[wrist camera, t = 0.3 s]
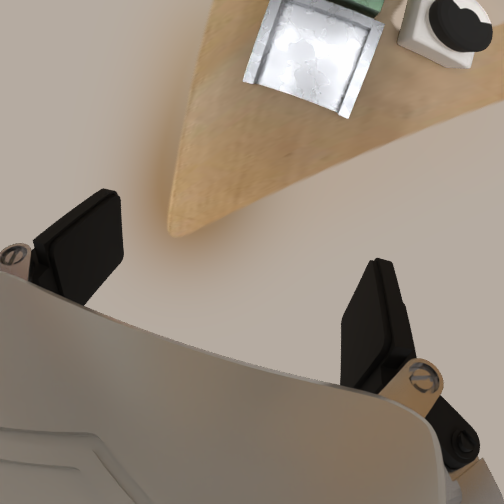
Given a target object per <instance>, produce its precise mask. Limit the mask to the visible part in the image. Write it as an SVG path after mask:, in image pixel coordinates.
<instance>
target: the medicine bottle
mask: <svg viewBox="0 0 504 504" xmlns="http://www.w3.org/2000/svg"><path fill="white" fill-rule="evenodd" d="M492 34H493V31H492V25H491V21H490V19H489V17H488V15H487V13H486V11H485V10H484V9H483V7H482V6H481V5H480V4H479V3H478V2H477V1H475V0H408V1H407V5H406V10H405V14H404V18H403V22H402V26H401V29H400V33H399V37H398V41H397V44H398V45H400V46H402V47H404V48H406V49H409V50H411V51H413V52H415V53H417V54H420V55H422V56H424V57H426V58H428V59H430V60H432V61H434V62H436V63H438V64H440V65H442V66H444V67H445V68H467V69H469V68H470V67H471V64H472V60H473V56H474V52H479V51H482V50H484V49H486V48H487V47H488V46H489V44H490V43H491V40H492Z"/></svg>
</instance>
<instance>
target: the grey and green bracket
mask: <svg viewBox="0 0 504 504" xmlns="http://www.w3.org/2000/svg"><path fill="white" fill-rule="evenodd" d="M383 2H384V0H270V2H269V5H268V7H267V10H266V13H265V16H264V18H263V21H262V24H261V27H260V30H259V33H258V36H257V39H256V41H255V44H254V47H253V50H252V53H251V56H250V59H249V63H248V66H247V69H246V72H245V75H244V78H243V82H247V83H250V84H260V85H263V86H266V87H270V88H273V89H276V90H279V91H282V92H285V93H288V94H291V95H293V96H296V97H299V98H302V99H305V100H307V101H310V102H313V103H315V104H318V105H320V106H323V107H326V108H328V109H331V110H333V111H335V112H337V113H338V115H340V116H343V117H345V118H347V119H348V118H349V115H350V113H351V111H352V108H353V106H354V103H355V101H356V98H357V96H358V93H359V91H360V88H361V86H362V83H363V81H364V78H365V75H366V73H367V70H368V68H369V65H370V63H371V60H372V57H373V55H374V52H375V49H376V47H377V44H378V42H379V39H380V36H381V33H382V31H383V28H384V25H385V24H383V23H381V22H379V21H377V20H374V18H375V17H376V16H377V15H378V14H379V12H380V11H381V8H382V5H383Z"/></svg>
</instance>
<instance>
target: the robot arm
mask: <svg viewBox="0 0 504 504" xmlns="http://www.w3.org/2000/svg"><path fill="white" fill-rule="evenodd" d="M121 221H122V220H121V200H120V197H119V196H118V194H117V192H116V191H112V190H108V189H101V190H99V191H98V192H96V193H95V194H93V195H92V196H90V197H89V198H88V199H86V200H85V201H84V202H82V203H81V204H79V205H78V206H77V207H75V208H74V209H72V210H71V211H70V212H68V213H67V214H66V215H64V216H63V217H62V218H60V219H59V220H58V221H56V222H55V223H54V224H53V225H51V226H50V227H49V228H47V229H46V230H45V231H44V232H43V233H41V234H40V235H39V236H37V237H36V238H35V239H34V240H33V243H34V247H35V248H34V249H33V250H32V251H31V248H30V247H29V245H27V244H23V243H16V244H13V245H10V246H8V247H6V248H4V249H3V250H2V251H1V252H0V504H504V500H503V497H502V494H501V492H500V490H499V488H498V486H497V484H496V482H495V480H494V478H493V476H492V474H491V472H490V470H489V468H488V466H487V464H486V462H485V461H484V459H483V458H481V459H480V460H479V458H478V453H479V450H480V442H479V438H478V435H477V433H476V432H475V430H474V429H473V428H472V427H471V426H470V425H469V424H468V423H467V422H466V421H465V420H464V419H463V418H462V417H461V415H460V414H459V413H458V412H457V411H456V410H455V409H454V408H453V407H451V405H450V404H449V403H448V402H447V401H446V400H445V399H444V398H443V397H442V396H441V395H440V394H441V392H442V390H443V378H442V375H441V373H440V372H439V370H438V369H437V368H436V367H435V366H434V365H433V364H432V363H430V362H429V361H427V360H424V359H420V358H416V352H415V347H414V342H413V337H412V333H411V328H410V324H409V319H408V315H407V310H406V306H405V304H404V303H403V301H402V297H401V293H400V289H399V285H398V281H397V278H396V274H395V270H394V267H393V263H392V262H391V261H387V260H384V259H380V258H376V259H375V260H374V261H372V260H370V261H369V263H368V265H367V267H366V269H365V271H364V274H363V276H362V278H361V280H360V282H359V284H358V286H357V288H356V290H355V292H354V295H353V296H352V299H351V301H350V303H349V305H348V307H347V309H346V311H345V313H344V315H343V317H342V321H341V378H340V385H337V384H332V383H327V382H323V381H318V380H313V379H310V378H306V377H301V376H297V375H293V374H289V373H285V372H280V371H277V370H273V369H268V368H265V367H261V366H257V365H253V364H250V363H246V362H243V361H239V360H236V359H232V358H229V357H225V356H222V355H219V354H215V353H212V352H209V351H206V350H202V349H199V348H196V347H193V346H189V345H186V344H184V343H181V342H178V341H174V340H172V339H169V338H166V337H163V336H160V335H157V334H154V333H152V332H149V331H146V330H143V329H141V328H138V327H135V326H133V325H130V324H127V323H125V322H122V321H120V320H117V319H114V318H112V317H109V316H107V315H104V314H102V313H100V312H97V311H94V310H92V309H90V308H87V307H85V306H84V305H85V304H86V303H87V301H88V300H89V299H90V298H91V297H92V295H93V294H94V293H95V292H96V291H97V289H98V288H99V287H100V286H101V285H102V283H103V282H104V281H105V280H106V279H107V277H108V276H109V275H110V274H111V273H112V272H113V271H114V270H115V269H116V267H117V266H118V265H119V264H120V263H121V261H122V260H123V256H124V250H123V237H122V222H121Z"/></svg>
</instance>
